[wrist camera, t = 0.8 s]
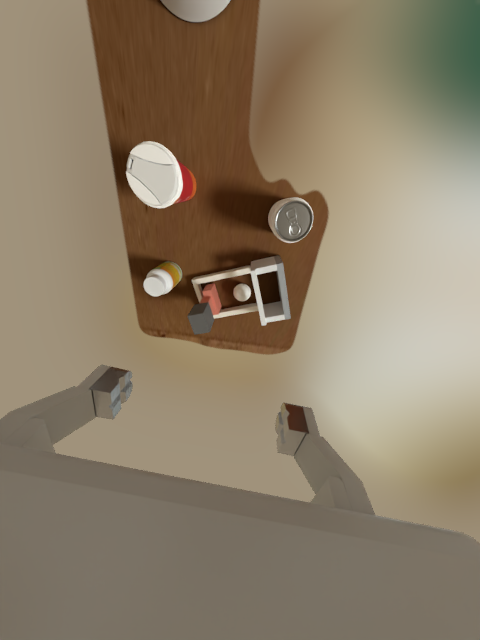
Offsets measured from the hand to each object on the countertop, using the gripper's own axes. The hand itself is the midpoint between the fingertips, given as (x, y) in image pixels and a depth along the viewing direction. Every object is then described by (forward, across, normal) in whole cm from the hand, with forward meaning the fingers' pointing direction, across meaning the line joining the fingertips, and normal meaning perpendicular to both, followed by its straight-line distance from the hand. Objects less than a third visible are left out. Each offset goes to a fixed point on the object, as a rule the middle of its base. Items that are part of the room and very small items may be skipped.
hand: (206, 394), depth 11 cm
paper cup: (+39, +14, -11) cm, 43 cm away
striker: (+40, +6, +10) cm, 41 cm away
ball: (+38, -1, +7) cm, 38 cm away
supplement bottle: (+40, +16, +7) cm, 43 cm away
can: (+39, -6, -10) cm, 41 cm away
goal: (+40, -6, +5) cm, 40 cm away
